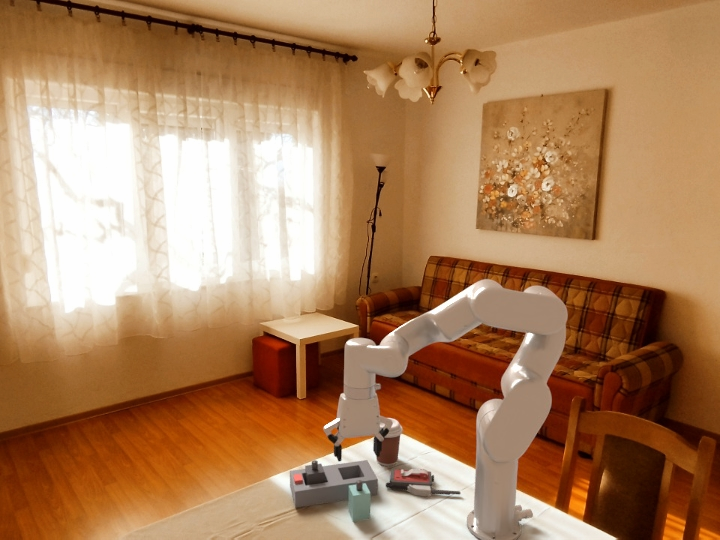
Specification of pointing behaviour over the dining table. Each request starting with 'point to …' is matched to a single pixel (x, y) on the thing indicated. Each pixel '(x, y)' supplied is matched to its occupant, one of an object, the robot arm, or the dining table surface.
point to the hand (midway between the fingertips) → (357, 456)
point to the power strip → (329, 482)
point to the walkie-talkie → (415, 482)
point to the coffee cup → (390, 444)
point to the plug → (359, 501)
